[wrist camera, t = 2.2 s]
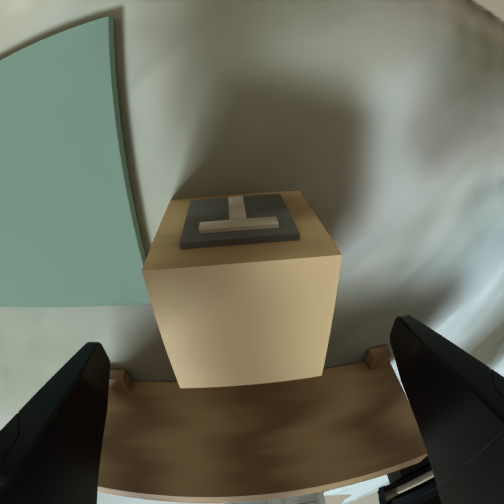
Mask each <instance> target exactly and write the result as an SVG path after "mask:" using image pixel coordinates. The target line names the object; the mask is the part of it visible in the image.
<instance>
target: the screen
mask: <svg viewBox="0 0 504 504" xmlns="http://www.w3.org/2000/svg"><path fill="white" fill-rule="evenodd" d="M390 356H391V353H390V351H389V349H388V347H387V345H384V346H379V347H374V348H370V349H369V352H368V355H367V358H366V361H364V362H359V363H354V364H349V365H343V366H338V367H332V368H326V369H323V372H322V376H317V377H311V378H304V379H297V380H289V381H281V382H272V383H263V384H252V385H240V386H226V387H207V388H180V386H179V384H178V382H134V381H131V379H130V377H129V376H128V374H127V372H126V370H125V369H110V379H109V393H108V408H107V415H106V422H105V428H104V435H103V443H102V450H101V459H100V468H99V478H98V490H97V491H99V492H102V493H107V494H113V495H119V496H125V497H132V498H140V499H148V500H158V501H171V502H191V503H226V502H247V501H259V500H269V499H278V498H286V497H293V496H299V495H305V494H311V493H316V492H321V491H326V490H331V489H335V488H340V487H344V486H348V485H352V484H356V483H359V482H363V481H366V480H370V479H373V478H376V477H380V476H383V475H386V474H389V473H392V472H395V471H398V470H400V469H403V468H406V467H409V466H411V465H414V464H416V463H419V462H421V461H422V460H423V459H424V458H425V457H426V456H427V452H426V448H425V445H424V442H423V439H422V436H421V434H420V431H419V428H418V425H417V422H416V419H415V416H414V414H413V411H412V408H411V406H410V404H409V401H408V399H407V397H406V395H405V393H404V391H403V388H402V386H401V384H400V382H399V380H398V378H397V376H396V374H395V372H394V370H393V368H392V366H391V364H390V362H389V358H390Z"/></svg>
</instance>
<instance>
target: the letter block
mask: <svg viewBox="0 0 504 504" xmlns="http://www.w3.org/2000/svg"><path fill="white" fill-rule="evenodd" d="M341 259H342V254H341V252H340V251H339V249H338V248H337V246H336V244H335V243H334V241H333V240H332V238H331V237H330V235H329V234H328V232H327V231H326V229H325V228H324V226H323V225H322V223H321V222H320V220H319V219H318V217H317V216H316V214H315V213H314V211H313V210H312V208H311V207H310V205H309V204H308V202H307V201H306V199H305V198H304V196H303V195H302V194H301V192H300V191H299V190H295V191H276V192H259V193H244V194H231V195H218V196H207V197H196V198H185V199H176V200H170V203H169V205H168V207H167V210H166V212H165V214H164V217H163V219H162V221H161V224H160V226H159V228H158V231H157V233H156V236H155V238H154V240H153V243H152V245H151V248H150V250H149V253H148V255H147V258H146V261H145V263H144V266H143V268H142V274H143V278H144V281H145V285H146V288H147V292H148V295H149V299H150V302H151V305H152V309H153V312H154V315H155V318H156V321H157V324H158V328H159V331H160V334H161V337H162V340H163V343H164V345H165V348H166V351H167V354H168V357H169V360H170V362H171V365H172V368H173V371H174V373H175V376H176V379H177V381H178V384H179V386H180V388H207V387H226V386H240V385H252V384H263V383H272V382H281V381H289V380H297V379H304V378H311V377H317V376H322V372H323V368H324V363H325V358H326V353H327V347H328V342H329V337H330V331H331V325H332V320H333V314H334V308H335V301H336V295H337V288H338V281H339V274H340V266H341Z"/></svg>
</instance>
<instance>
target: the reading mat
mask: <svg viewBox="0 0 504 504" xmlns="http://www.w3.org/2000/svg"><path fill="white" fill-rule="evenodd" d="M145 261H146V255H145V251H144V247H143V243H142V238H141V234H140V229H139V225H138V220H137V215H136V210H135V205H134V200H133V195H132V190H131V184H130V179H129V173H128V167H127V161H126V154H125V147H124V140H123V133H122V125H121V117H120V108H119V99H118V88H117V76H116V62H115V42H114V19H112V18H111V17H109V16H107V17H104V18H101V19H97V20H94V21H91V22H88V23H85V24H82V25H79V26H76V27H73V28H70V29H68V30H65V31H62V32H60V33H57V34H55V35H52V36H50V37H47V38H45V39H43V40H41V41H38V42H36V43H34V44H32V45H29V46H27V47H25V48H23V49H21V50H19V51H17V52H15V53H13V54H11V55H9V56H7V57H6V58H4V59H2V60H0V307H77V306H115V305H140V304H151V302H150V299H149V295H148V292H147V288H146V285H145V281H144V278H143V274H142V268H143V266H144V263H145Z"/></svg>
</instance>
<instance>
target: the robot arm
mask: <svg viewBox="0 0 504 504" xmlns="http://www.w3.org/2000/svg"><path fill="white" fill-rule="evenodd" d="M390 343H391V347H392V350H393V354H394V357H395V361H396V364H397V368H398V371H399V375H400V378H401V382H402V384H403V387H404V390H405V392H406V395H407V398H408V400H409V403H410V406H411V408H412V411H413V414H414V416H415V419H416V422H417V425H418V428H419V431H420V434H421V436H422V439H423V442H424V445H425V448H426V452H427V456H426V457H425V458H424V459H423V460H422V461H421V462H419V463H416V464H414V465H411V466H409V467H406V468H403V469H400V470H398V471H395V472H392V473H389V474H387V476H388V479H389V482H390V484H389V485H387V486H383V487H380V488H379V491H378V495H379V503H380V504H504V377H503V376H501V375H500V374H498V373H497V372H495V371H494V370H492V369H491V370H490V368H489V367H488V366H486V365H485V364H483V363H482V362H480V361H479V360H477V359H476V358H475V357H473V356H472V355H470V354H469V353H467V352H466V351H464V350H463V349H461V348H460V347H458V346H456V345H455V344H453V343H452V342H450V341H449V340H447V339H446V338H444V337H443V336H441V335H440V334H438V333H437V332H435V331H434V330H432V329H430V328H429V327H427V326H426V325H424V324H423V323H421V322H420V321H418V320H417V319H415V318H413V317H412V316H410V315H402V316H398V317H396V319H395V321H394V324H393V327H392V330H391V333H390ZM110 368H111V365H110V360H109V358H108V356H107V354H106V352H105V350H104V348H103V346H102V344H101V343H99V342H88V343H86V344H85V345H84V346H83V347H82V348H81V349H80V350H79V351H78V352H77V353H76V354H75V355H74V356H73V357H72V358H71V359H70V360H69V361H68V362H67V363H66V364H65V365H64V366H63V367H62V368H61V369H60V370H59V371H58V372H57V373H56V374H55V375H54V376H53V377H52V378H51V379H50V380H49V381H48V382H47V383H46V384H45V385H44V386H43V387H42V388H41V389H40V390H39V391H38V392H37V393H36V394H35V395H34V396H33V397H32V398H31V399H30V400H29V401H28V402H27V403H26V404H25V406H24V407H23V408H22V409H21V410H20V411H19V414H18V413H17V414H16V415H15V416H14V417H13V418H12V419H11V420H10V421H9V422H8V423H7V424H6V426H5V427H4V428H3V429H2V430H1V431H0V504H97V490H98V478H99V468H100V459H101V450H102V443H103V435H104V428H105V422H106V415H107V408H108V393H109V379H110ZM432 475H434V477H433V478H431V479H429V480H428V481H426V482H424V483H422V484H420V485H418V486H415V487H413V488H411V489H409V490H407V491H405V492H403V493H400V494H398V493H397V492H399V491H401V490H404V489H406V488H408V487H410V486H412V485H414V484H416V483H418V482H420V481H422V480H424V479H426V478H428V477H430V476H432Z"/></svg>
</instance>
